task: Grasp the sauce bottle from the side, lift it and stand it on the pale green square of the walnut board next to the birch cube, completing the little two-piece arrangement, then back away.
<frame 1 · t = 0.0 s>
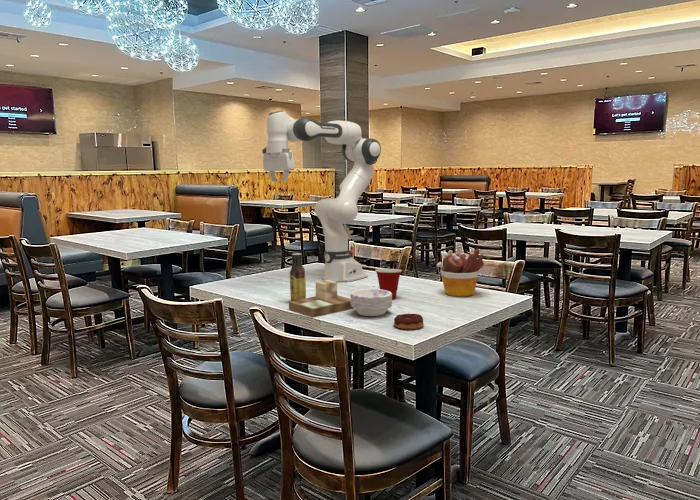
hand: (279, 181, 235), 48 cm above the table, tool pointing down, fingers open, 8 cm apart
paper bowls: (371, 313, 196), on the table
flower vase: (338, 269, 289), on the table
plastic cup: (388, 298, 220), on the table
donut: (408, 327, 179), on the table
birch cube: (326, 297, 210), point 3 cm above the table, touching walnut board
sauce bottle: (298, 302, 216), on the table
bucket of meat: (460, 294, 223), on the table
walnut board: (322, 308, 205), on the table
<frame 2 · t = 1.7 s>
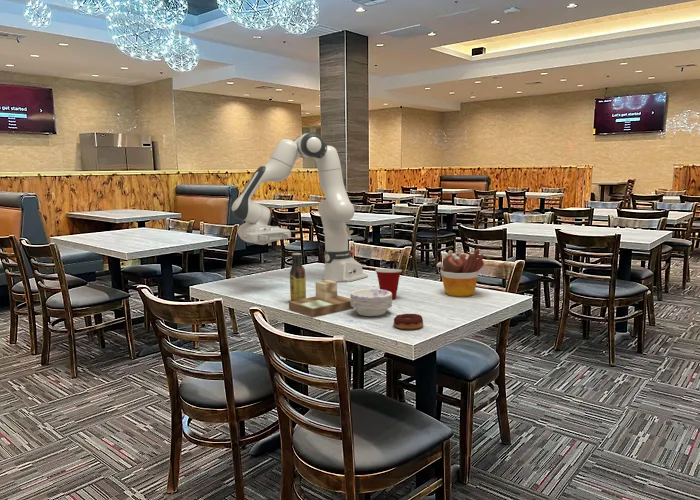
hand: (277, 237, 226), 25 cm above the table, tool horizontal, fingers open, 8 cm apart
nothing on the table moved.
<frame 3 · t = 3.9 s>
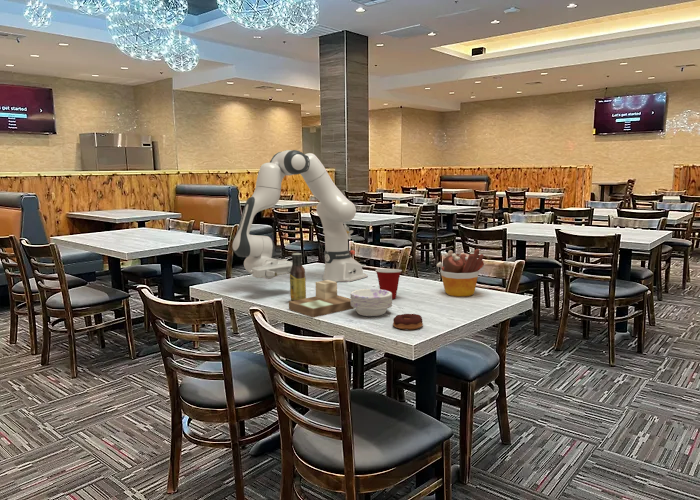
hand: (285, 272, 221), 11 cm above the table, tool horizontal, fingers open, 8 cm apart
nothing on the table moved.
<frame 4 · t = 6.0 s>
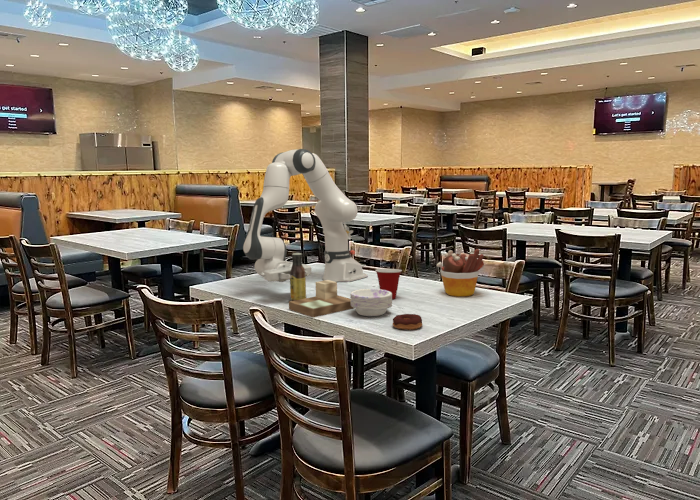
hand: (298, 275, 213), 11 cm above the table, tool horizontal, fingers closed on sauce bottle, 6 cm apart
sauce bottle: (298, 302, 216), on the table, touching gripper
everything else where it was.
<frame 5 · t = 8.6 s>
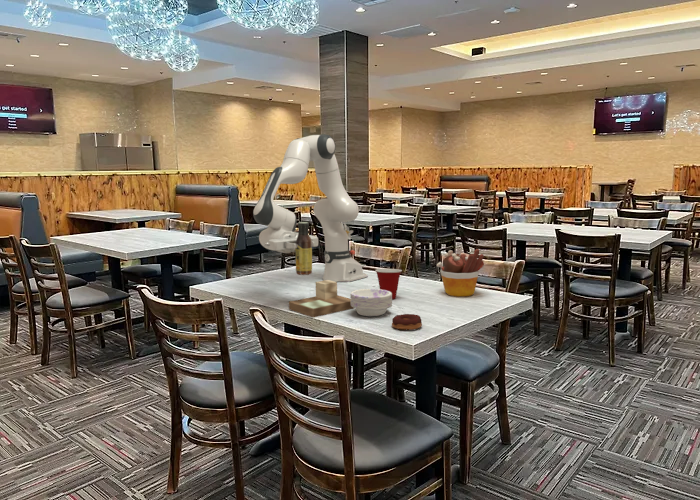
hand: (304, 245, 203), 24 cm above the table, tool horizontal, fingers closed on sauce bottle, 6 cm apart
sauce bottle: (304, 274, 205), point 13 cm above the table, touching gripper
everything else where it was.
when the fingers open (15 cm above the table, at t = 11.3 s): sauce bottle stays where it is, resting on walnut board.
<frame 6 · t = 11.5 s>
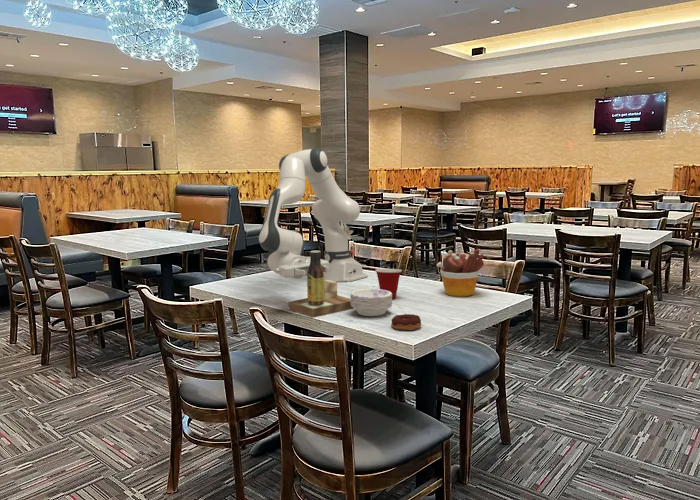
hand: (316, 271, 196), 16 cm above the table, tool horizontal, fingers open, 8 cm apart
sauce bottle: (316, 304, 199), point 3 cm above the table, touching walnut board
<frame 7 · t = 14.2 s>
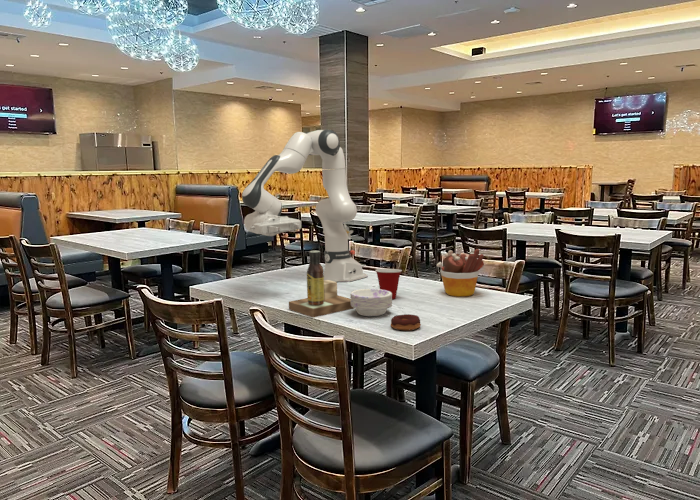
hand: (288, 228, 213), 30 cm above the table, tool horizontal, fingers open, 8 cm apart
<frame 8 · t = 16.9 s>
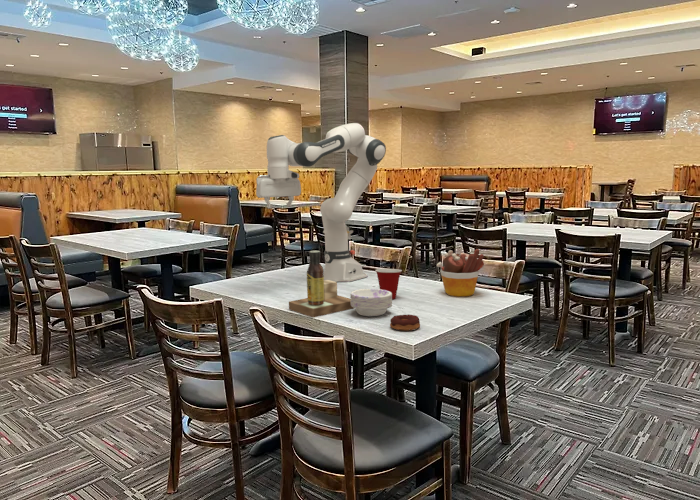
hand: (279, 207, 227), 37 cm above the table, tool pointing down, fingers open, 8 cm apart
at the end: sauce bottle inside the target area (0.2 cm from its centre), point 3.0 cm above the table; sauce bottle tilted 0° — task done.
